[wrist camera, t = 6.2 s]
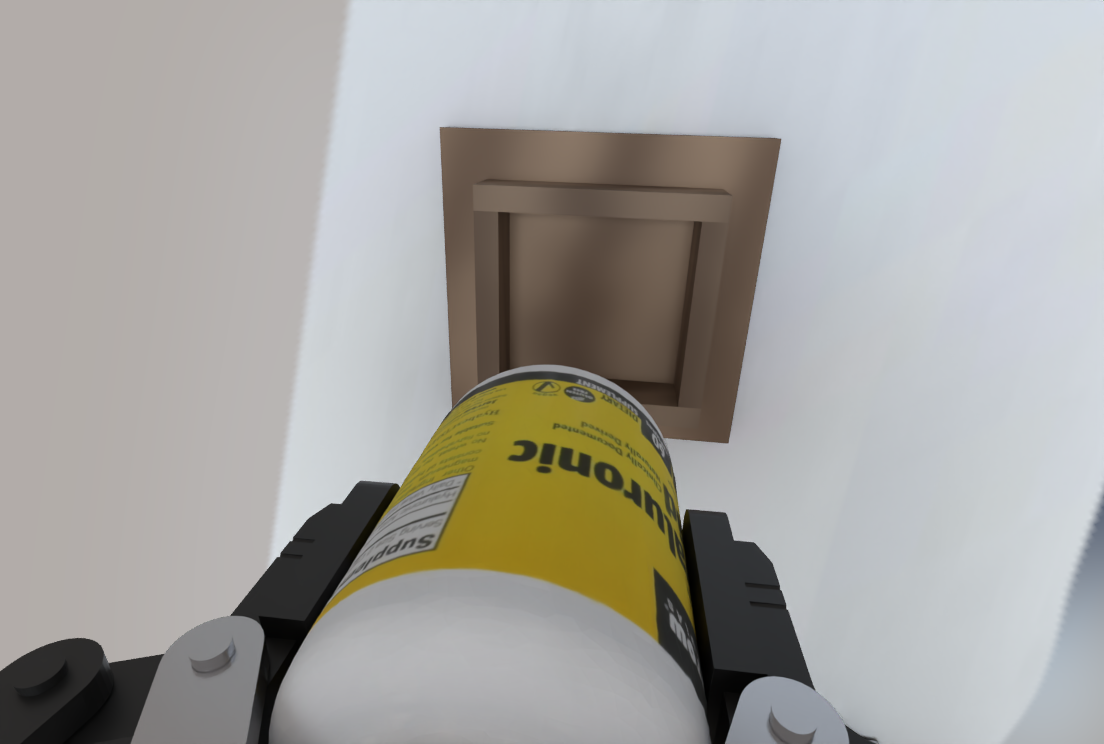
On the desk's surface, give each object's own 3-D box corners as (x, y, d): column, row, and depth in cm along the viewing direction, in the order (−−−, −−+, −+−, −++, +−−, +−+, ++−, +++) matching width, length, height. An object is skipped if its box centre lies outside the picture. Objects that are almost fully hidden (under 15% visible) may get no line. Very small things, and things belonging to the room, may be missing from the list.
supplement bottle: (722, 483, 13) (937, 1291, 4) (544, 591, 15) (418, 1307, 6) (564, 304, 12) (362, 885, 3) (392, 445, 14) (-62, 1067, 5)
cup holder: (775, 138, 24) (798, 140, 21) (725, 433, 29) (737, 471, 26) (446, 127, 25) (420, 127, 22) (457, 411, 31) (438, 444, 28)
